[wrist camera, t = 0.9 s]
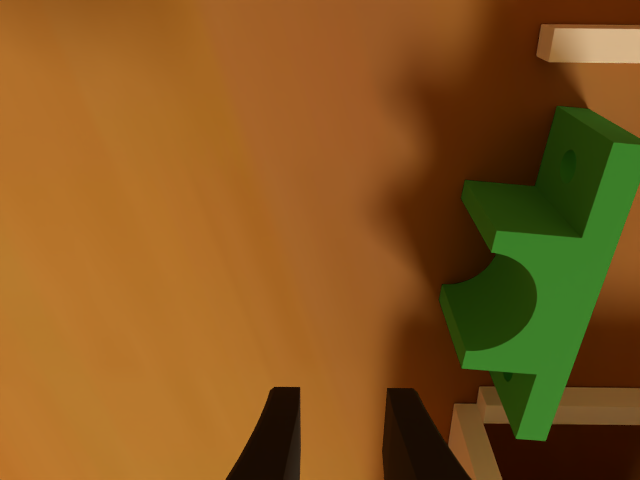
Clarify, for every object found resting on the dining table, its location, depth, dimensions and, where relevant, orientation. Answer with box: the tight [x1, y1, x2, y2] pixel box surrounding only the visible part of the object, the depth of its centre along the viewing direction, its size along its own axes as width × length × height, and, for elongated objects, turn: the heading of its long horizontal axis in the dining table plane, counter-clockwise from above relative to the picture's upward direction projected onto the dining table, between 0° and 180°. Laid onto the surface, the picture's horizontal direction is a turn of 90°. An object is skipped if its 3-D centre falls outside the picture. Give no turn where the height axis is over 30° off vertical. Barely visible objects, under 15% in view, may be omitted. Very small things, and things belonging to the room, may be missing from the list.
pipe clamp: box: [439, 106, 640, 441], centre depth 20 cm, size 11×4×5 cm, turn 175°
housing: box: [448, 24, 640, 480], centre depth 23 cm, size 14×32×4 cm, turn 0°
